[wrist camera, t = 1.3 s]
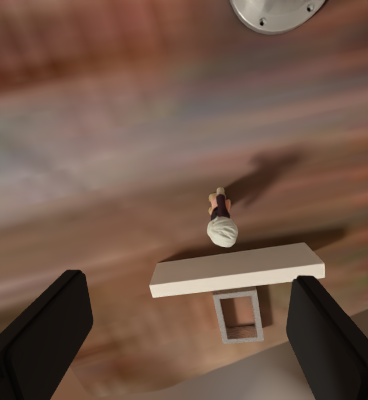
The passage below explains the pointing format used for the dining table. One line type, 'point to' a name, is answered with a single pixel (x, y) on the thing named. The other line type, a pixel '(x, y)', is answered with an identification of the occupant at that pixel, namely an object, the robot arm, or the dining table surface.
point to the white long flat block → (236, 270)
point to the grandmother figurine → (221, 220)
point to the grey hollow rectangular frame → (246, 331)
